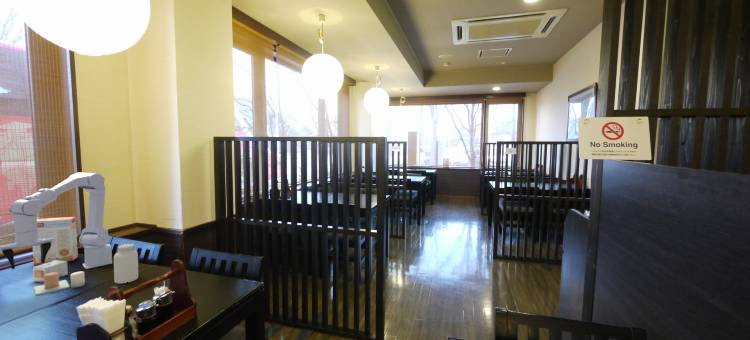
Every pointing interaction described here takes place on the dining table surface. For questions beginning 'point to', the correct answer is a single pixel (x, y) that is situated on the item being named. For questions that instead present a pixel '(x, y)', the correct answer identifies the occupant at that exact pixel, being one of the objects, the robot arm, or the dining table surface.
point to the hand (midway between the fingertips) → (28, 265)
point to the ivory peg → (77, 279)
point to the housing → (49, 270)
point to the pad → (41, 290)
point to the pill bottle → (125, 264)
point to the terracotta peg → (51, 280)
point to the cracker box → (57, 239)
